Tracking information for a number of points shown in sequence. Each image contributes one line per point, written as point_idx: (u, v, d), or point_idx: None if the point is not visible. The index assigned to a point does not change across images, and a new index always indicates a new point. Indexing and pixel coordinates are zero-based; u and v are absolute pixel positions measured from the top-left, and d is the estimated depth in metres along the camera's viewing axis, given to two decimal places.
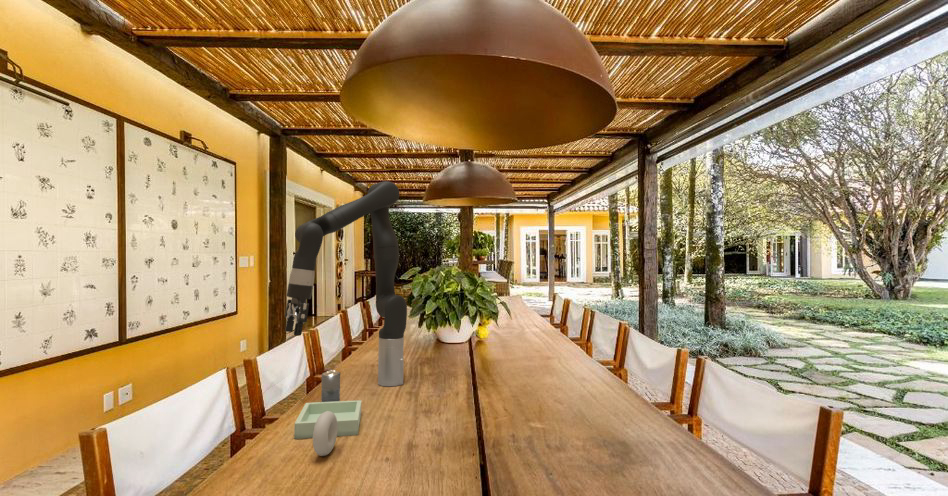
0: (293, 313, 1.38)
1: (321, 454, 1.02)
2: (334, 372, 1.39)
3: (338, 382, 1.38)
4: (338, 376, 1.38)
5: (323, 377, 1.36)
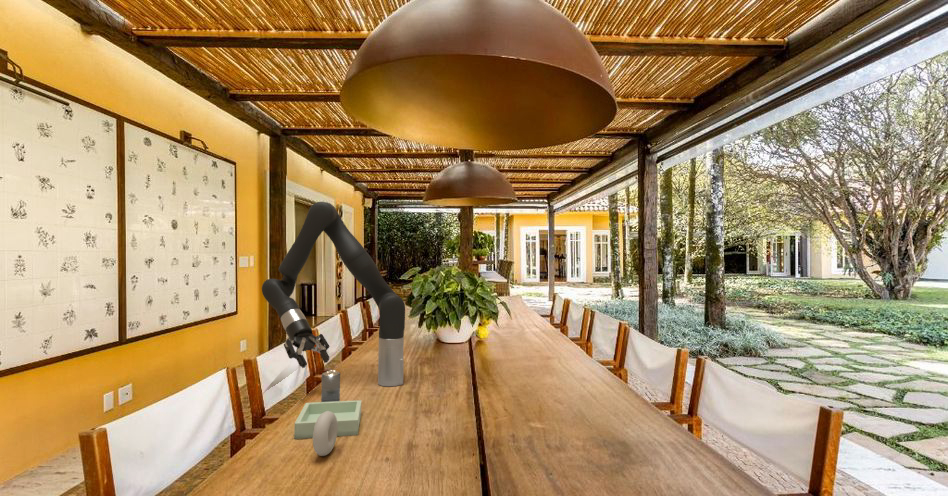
0: None
1: (321, 454, 1.02)
2: (334, 372, 1.39)
3: (338, 382, 1.38)
4: (338, 376, 1.38)
5: (323, 377, 1.36)
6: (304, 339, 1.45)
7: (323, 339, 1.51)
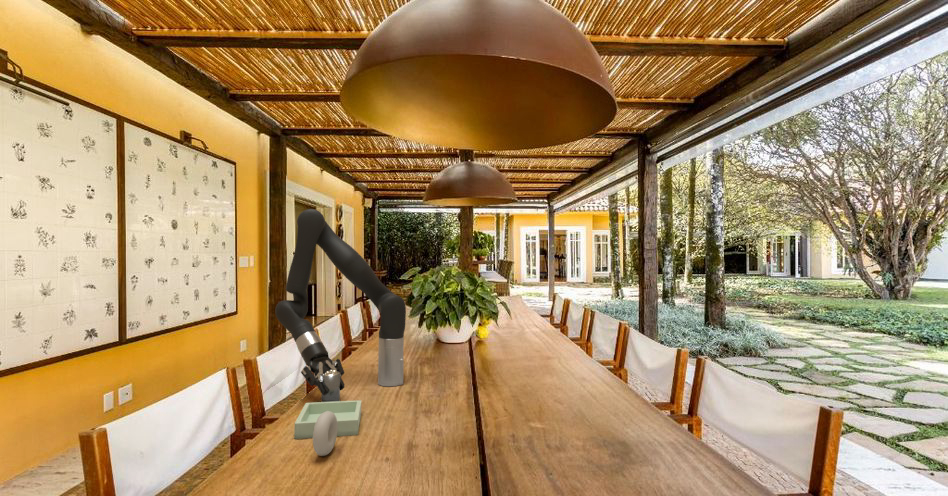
0: None
1: (321, 454, 1.02)
2: (334, 372, 1.39)
3: (338, 382, 1.38)
4: (338, 376, 1.38)
5: (323, 377, 1.36)
6: (321, 364, 1.40)
7: (340, 364, 1.45)
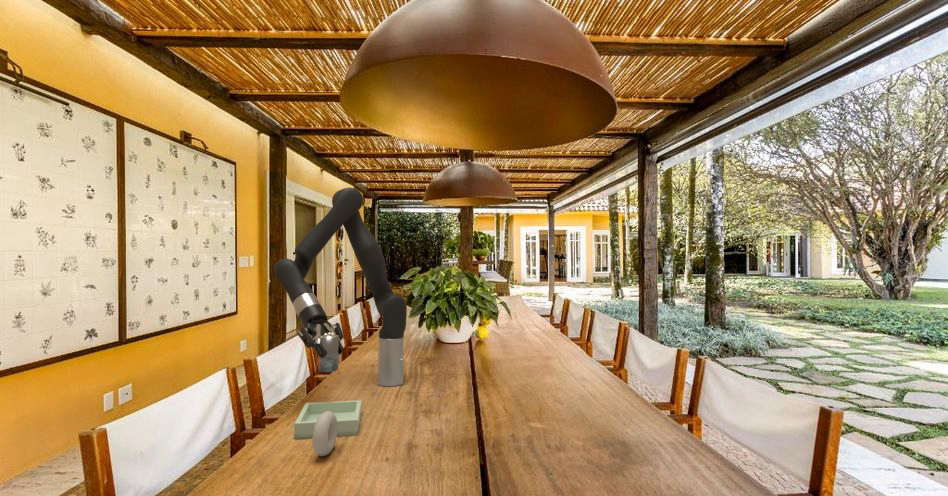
0: None
1: (321, 454, 1.02)
2: (332, 334, 1.31)
3: (337, 345, 1.30)
4: (337, 339, 1.30)
5: (321, 339, 1.29)
6: (319, 326, 1.32)
7: (339, 328, 1.37)
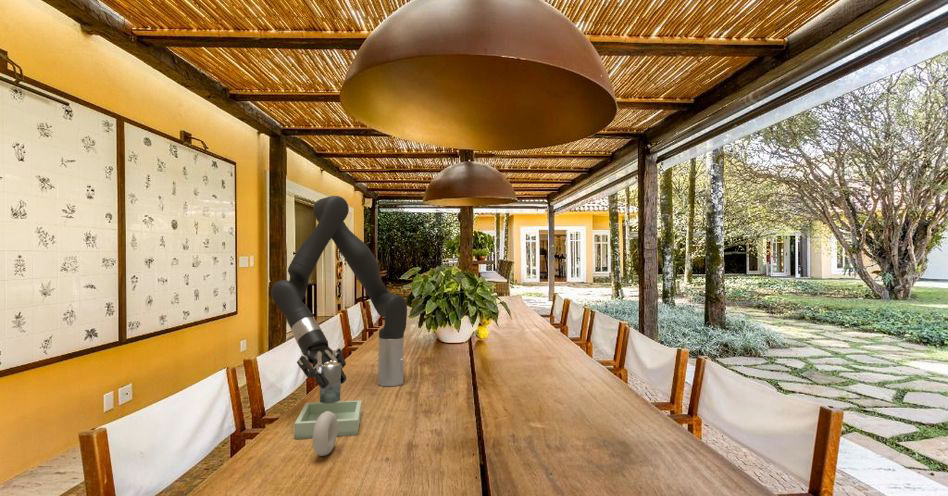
0: None
1: (321, 454, 1.02)
2: (334, 363, 1.22)
3: (339, 374, 1.22)
4: (339, 367, 1.22)
5: (322, 368, 1.20)
6: (320, 353, 1.23)
7: (341, 354, 1.29)
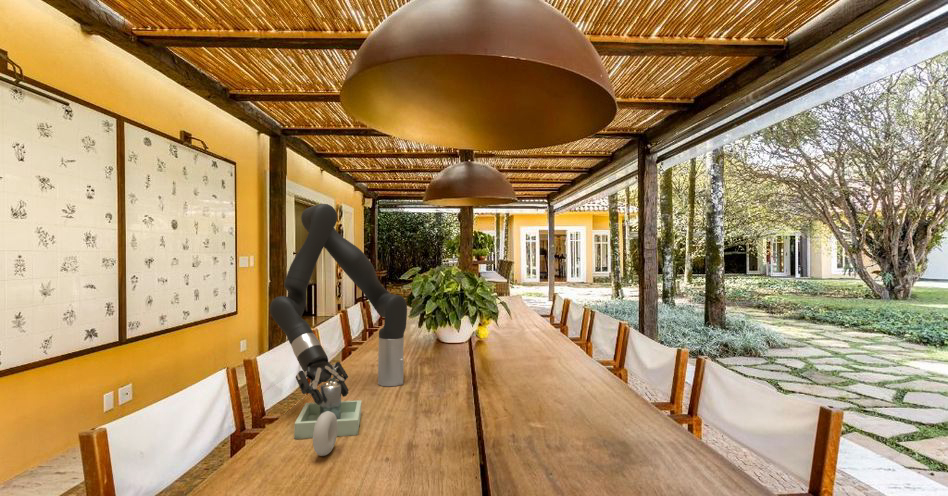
0: None
1: (321, 454, 1.02)
2: (334, 384, 1.23)
3: (339, 395, 1.22)
4: (339, 388, 1.22)
5: (322, 390, 1.21)
6: (319, 369, 1.23)
7: (341, 367, 1.30)
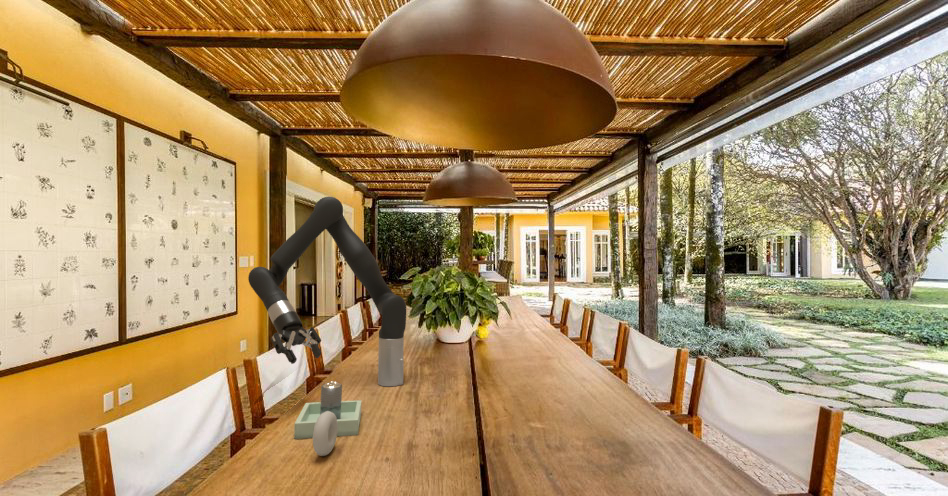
0: None
1: (321, 454, 1.02)
2: (335, 384, 1.23)
3: (339, 396, 1.22)
4: (339, 389, 1.22)
5: (322, 389, 1.21)
6: (293, 333, 1.33)
7: (315, 332, 1.40)
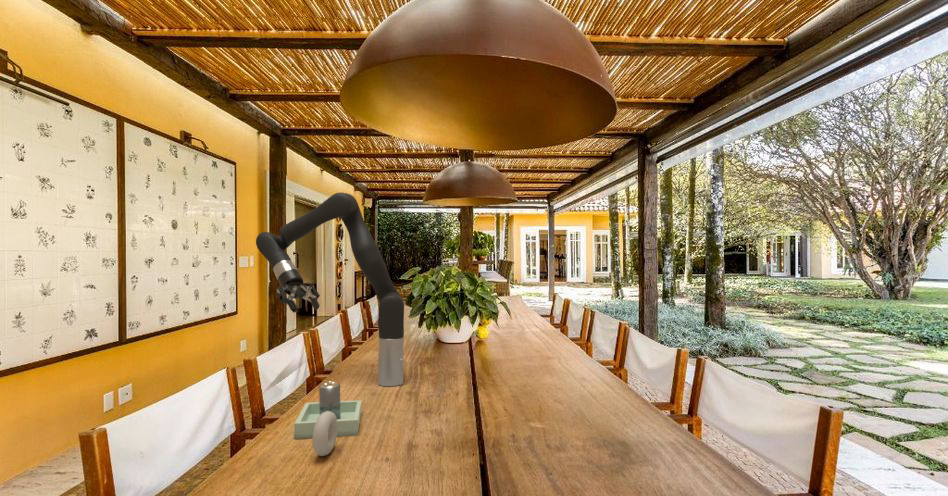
0: None
1: (321, 454, 1.02)
2: (333, 384, 1.22)
3: (337, 395, 1.22)
4: (337, 388, 1.22)
5: (320, 390, 1.21)
6: (295, 287, 1.53)
7: (314, 289, 1.59)
